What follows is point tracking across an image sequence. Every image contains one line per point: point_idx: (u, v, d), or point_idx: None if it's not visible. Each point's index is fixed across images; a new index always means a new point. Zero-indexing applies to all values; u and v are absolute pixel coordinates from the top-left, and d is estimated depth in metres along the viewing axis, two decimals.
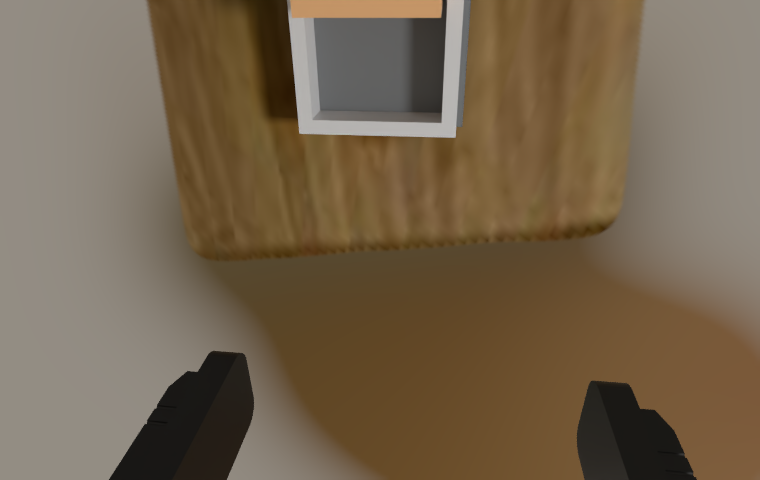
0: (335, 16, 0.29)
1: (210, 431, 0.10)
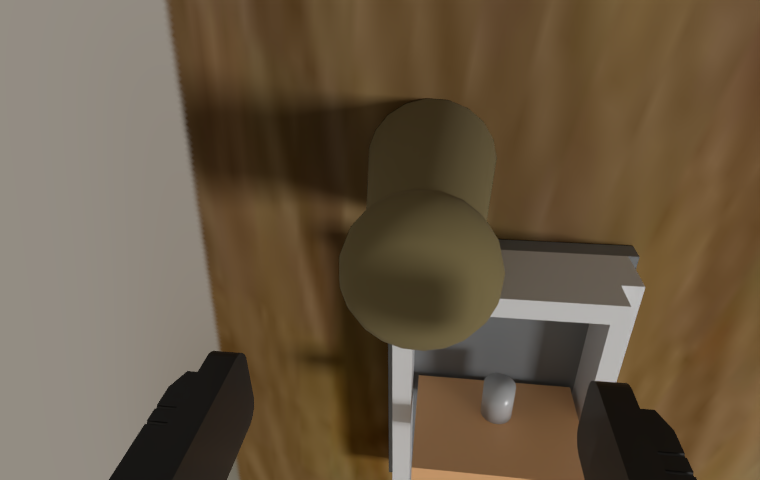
0: None
1: (209, 431, 0.10)
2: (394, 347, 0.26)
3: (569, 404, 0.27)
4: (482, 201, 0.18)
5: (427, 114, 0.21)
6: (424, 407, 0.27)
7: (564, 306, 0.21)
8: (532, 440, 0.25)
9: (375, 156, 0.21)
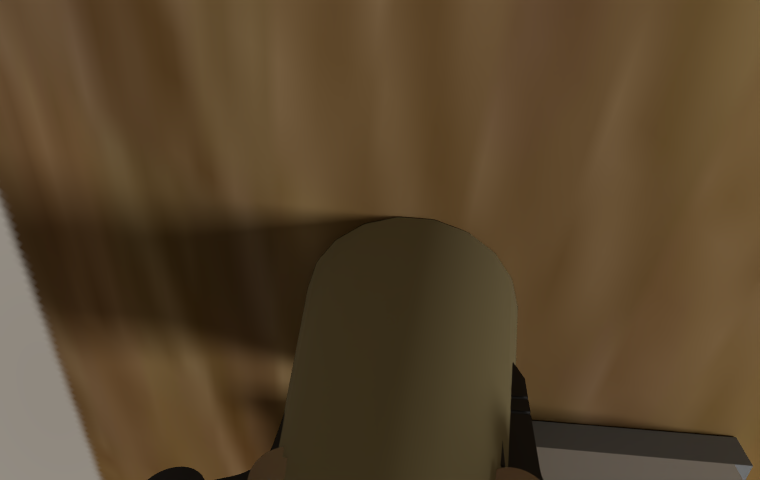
0: None
1: None
2: None
3: None
4: None
5: (397, 257, 0.12)
6: None
7: None
8: None
9: (304, 336, 0.12)
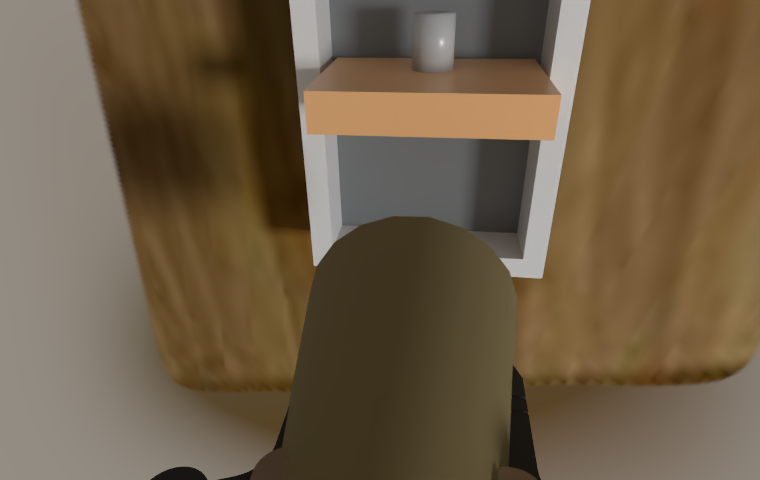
0: (378, 134, 0.18)
1: None
2: None
3: (532, 65, 0.20)
4: (499, 466, 0.09)
5: (391, 254, 0.12)
6: (337, 68, 0.20)
7: None
8: (477, 78, 0.18)
9: (304, 336, 0.12)
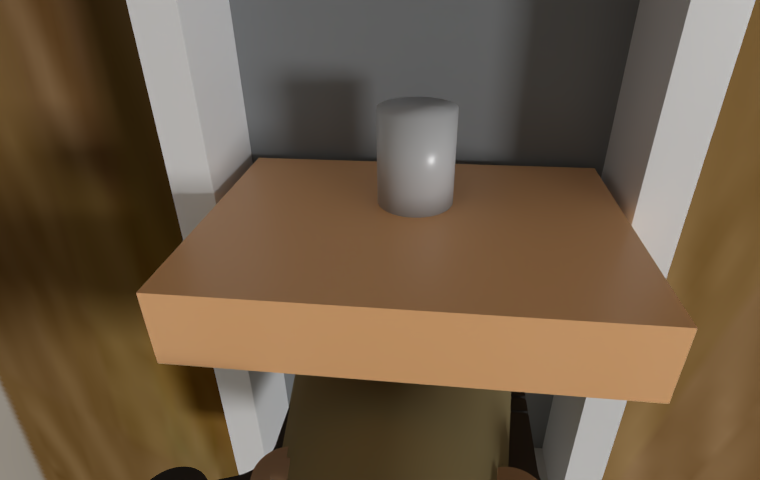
0: (299, 371, 0.09)
1: None
2: (156, 106, 0.11)
3: (595, 189, 0.11)
4: (499, 464, 0.09)
5: None
6: (243, 196, 0.11)
7: None
8: (501, 242, 0.09)
9: None
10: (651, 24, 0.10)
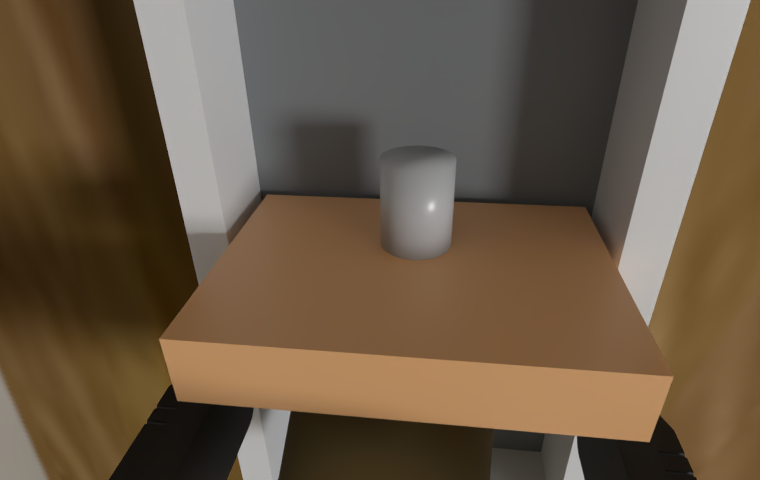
0: (308, 409, 0.09)
1: (210, 431, 0.10)
2: (165, 120, 0.11)
3: (585, 230, 0.12)
4: None
5: None
6: (254, 236, 0.12)
7: None
8: (496, 286, 0.10)
9: None
10: (645, 42, 0.10)
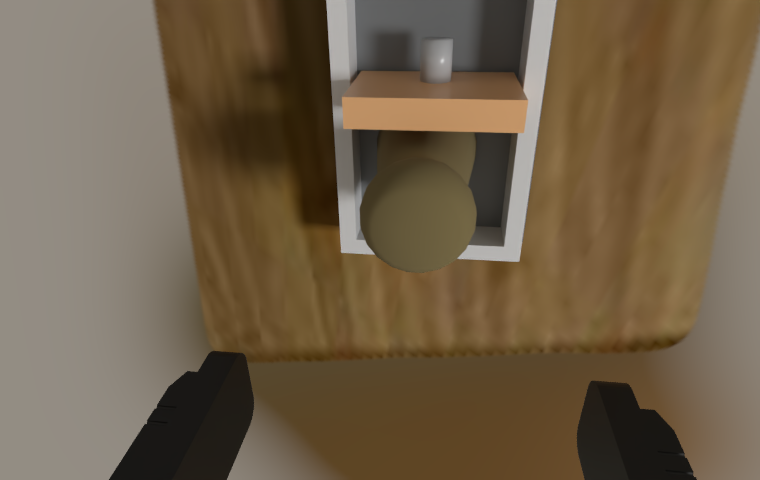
0: (396, 128, 0.24)
1: (210, 431, 0.10)
2: (329, 22, 0.26)
3: (510, 77, 0.27)
4: (462, 168, 0.25)
5: None
6: (363, 79, 0.27)
7: None
8: (469, 88, 0.25)
9: (382, 142, 0.28)
10: None
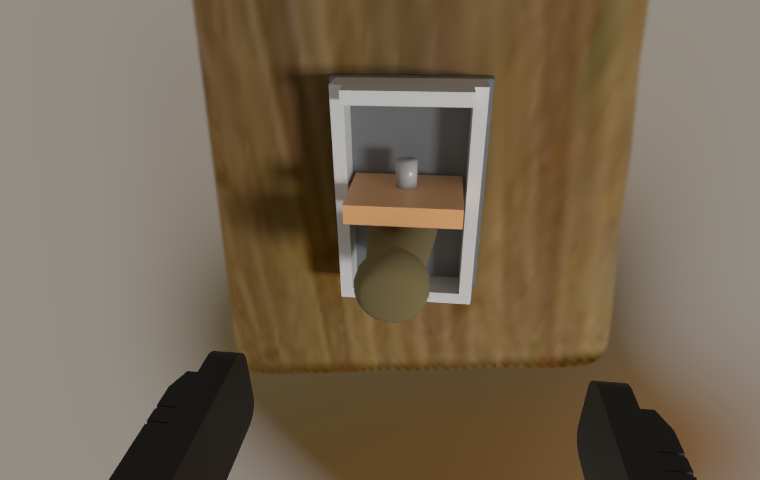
0: (378, 224, 0.36)
1: (209, 430, 0.10)
2: (333, 147, 0.38)
3: (459, 182, 0.39)
4: (423, 249, 0.37)
5: None
6: (356, 184, 0.39)
7: (434, 94, 0.33)
8: (428, 195, 0.37)
9: (370, 225, 0.40)
10: (470, 125, 0.37)
